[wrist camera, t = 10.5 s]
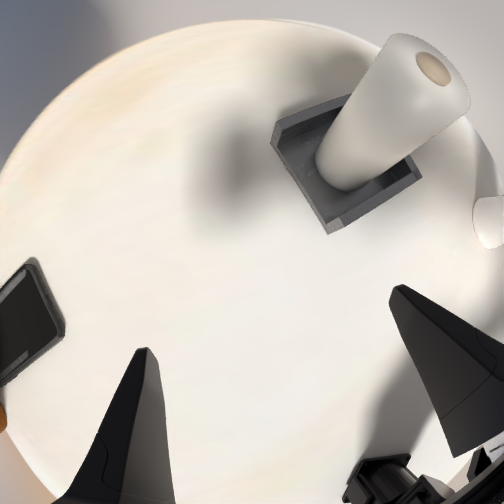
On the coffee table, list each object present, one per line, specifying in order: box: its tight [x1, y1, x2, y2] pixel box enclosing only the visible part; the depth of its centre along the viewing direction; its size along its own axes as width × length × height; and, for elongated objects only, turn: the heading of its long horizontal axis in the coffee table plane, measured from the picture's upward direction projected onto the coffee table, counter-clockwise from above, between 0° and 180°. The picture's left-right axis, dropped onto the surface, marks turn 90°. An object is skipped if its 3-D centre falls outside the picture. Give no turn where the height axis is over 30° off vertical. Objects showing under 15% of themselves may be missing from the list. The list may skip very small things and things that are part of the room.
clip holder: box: [270, 94, 422, 235], centre depth 21 cm, size 9×9×4 cm
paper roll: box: [315, 33, 470, 191], centre depth 15 cm, size 5×5×13 cm
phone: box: [0, 264, 65, 388], centre depth 19 cm, size 8×1×15 cm
